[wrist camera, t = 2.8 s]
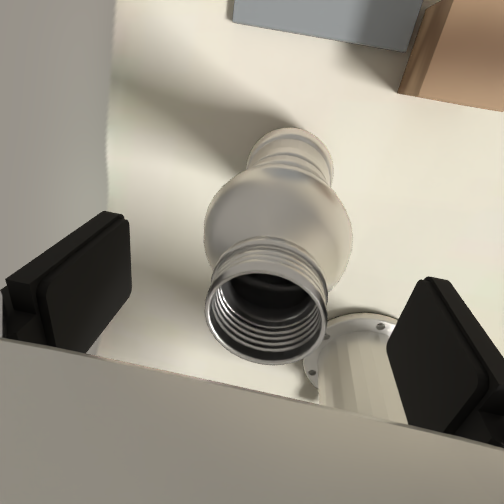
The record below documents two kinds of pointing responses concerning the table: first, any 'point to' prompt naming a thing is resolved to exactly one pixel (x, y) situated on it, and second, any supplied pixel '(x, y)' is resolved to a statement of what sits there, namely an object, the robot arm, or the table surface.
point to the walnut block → (459, 55)
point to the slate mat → (336, 19)
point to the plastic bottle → (276, 250)
